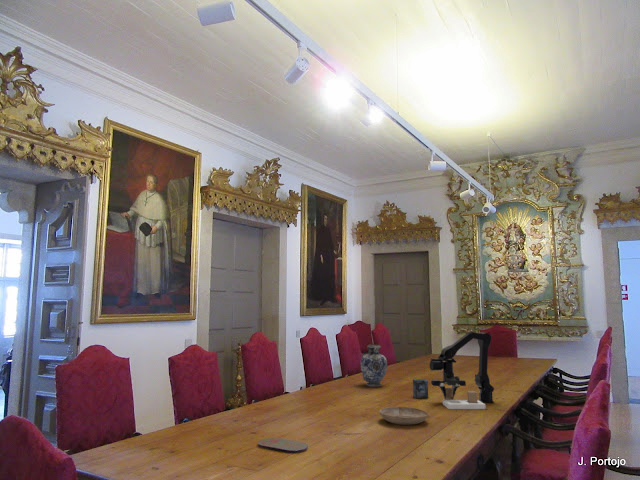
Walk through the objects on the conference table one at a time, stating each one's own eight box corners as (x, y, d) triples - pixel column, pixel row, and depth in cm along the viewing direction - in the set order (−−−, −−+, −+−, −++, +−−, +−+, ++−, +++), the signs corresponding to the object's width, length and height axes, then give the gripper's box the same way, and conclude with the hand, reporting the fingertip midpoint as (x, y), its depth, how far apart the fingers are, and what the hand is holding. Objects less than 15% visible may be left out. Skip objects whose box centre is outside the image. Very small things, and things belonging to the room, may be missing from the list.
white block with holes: (477, 404, 266) (477, 389, 267) (485, 409, 254) (484, 393, 255) (442, 404, 266) (442, 389, 267) (449, 409, 254) (448, 393, 255)
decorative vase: (357, 382, 335) (358, 343, 339) (383, 382, 337) (383, 343, 341) (363, 388, 314) (364, 346, 318) (390, 388, 316) (390, 346, 320)
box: (416, 398, 282) (415, 380, 284) (412, 396, 288) (412, 378, 289) (428, 398, 283) (428, 380, 285) (425, 396, 289) (424, 378, 290)
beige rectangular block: (451, 401, 273) (450, 387, 274) (453, 403, 269) (453, 388, 270) (444, 401, 273) (444, 387, 274) (446, 403, 269) (446, 388, 270)
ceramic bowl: (425, 430, 212) (425, 419, 212) (374, 425, 220) (374, 414, 220) (431, 418, 233) (431, 408, 234) (385, 414, 241) (385, 404, 242)
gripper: (435, 372, 265) (436, 400, 263) (468, 372, 265) (469, 400, 263) (430, 369, 276) (431, 396, 274) (462, 369, 276) (463, 396, 274)
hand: (448, 398), depth 271 cm, fingers open, 4 cm apart
